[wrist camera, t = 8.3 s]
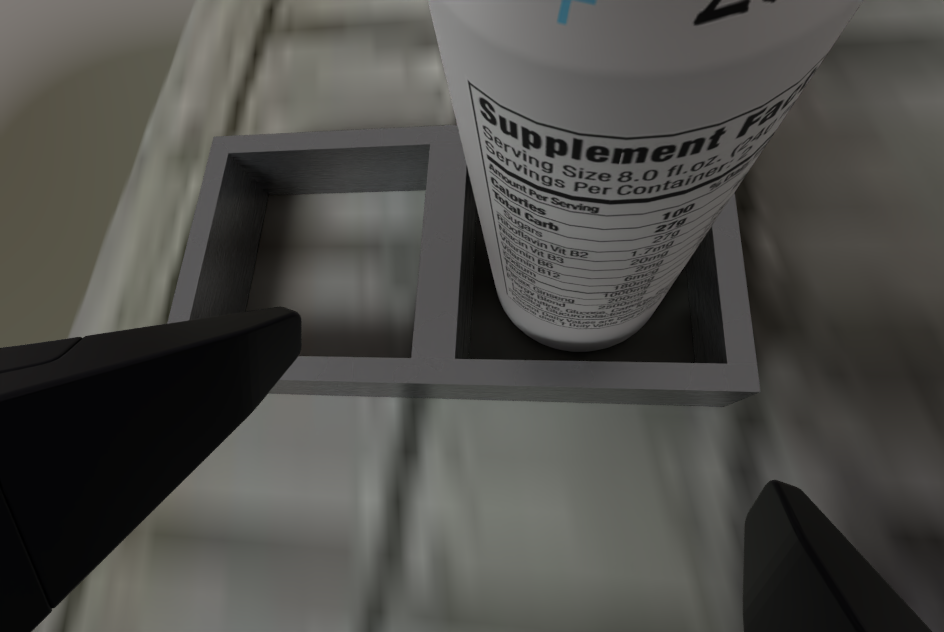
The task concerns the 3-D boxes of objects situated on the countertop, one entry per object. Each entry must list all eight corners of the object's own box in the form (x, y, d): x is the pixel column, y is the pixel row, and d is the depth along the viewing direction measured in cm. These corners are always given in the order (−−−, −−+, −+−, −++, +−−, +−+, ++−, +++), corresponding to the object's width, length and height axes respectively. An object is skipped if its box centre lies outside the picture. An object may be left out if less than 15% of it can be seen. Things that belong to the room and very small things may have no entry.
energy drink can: (658, 214, 19) (974, -509, 5) (657, 365, 18) (1143, -114, 3) (504, 209, 20) (418, -411, 6) (489, 352, 18) (319, -64, 4)
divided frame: (723, 406, 17) (760, 391, 14) (210, 391, 19) (153, 377, 17) (697, 164, 20) (724, 111, 17) (255, 179, 22) (213, 136, 20)
